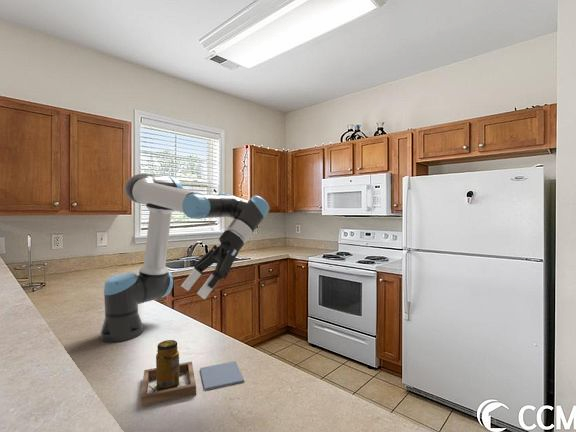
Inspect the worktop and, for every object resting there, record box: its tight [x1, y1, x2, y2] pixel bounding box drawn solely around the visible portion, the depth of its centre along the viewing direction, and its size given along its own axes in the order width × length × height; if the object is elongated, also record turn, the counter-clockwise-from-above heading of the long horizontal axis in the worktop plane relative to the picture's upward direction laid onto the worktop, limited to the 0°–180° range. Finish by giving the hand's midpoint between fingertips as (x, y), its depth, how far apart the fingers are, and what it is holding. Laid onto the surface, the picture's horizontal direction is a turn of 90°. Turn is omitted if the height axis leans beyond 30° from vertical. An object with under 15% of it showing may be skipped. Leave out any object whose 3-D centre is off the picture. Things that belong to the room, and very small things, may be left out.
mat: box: [199, 361, 245, 391], centre depth 94 cm, size 12×11×1 cm
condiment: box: [149, 339, 187, 392], centre depth 88 cm, size 7×8×12 cm
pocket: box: [140, 361, 197, 408], centre depth 88 cm, size 14×13×2 cm
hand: (192, 292), depth 92 cm, fingers open, 13 cm apart
